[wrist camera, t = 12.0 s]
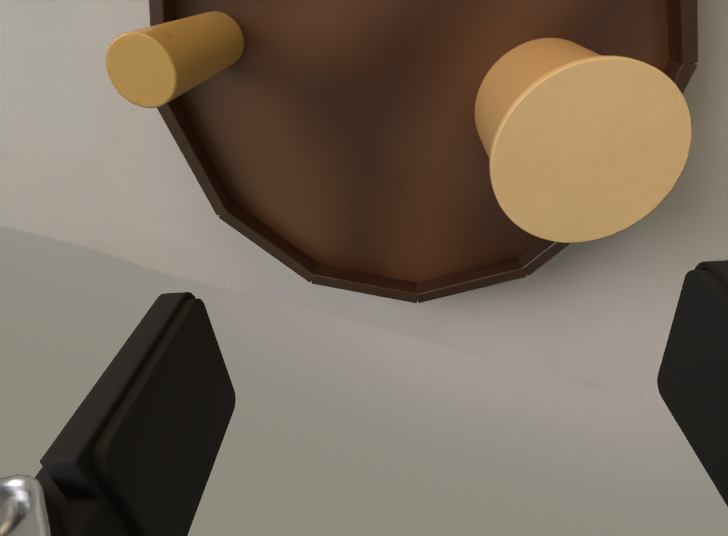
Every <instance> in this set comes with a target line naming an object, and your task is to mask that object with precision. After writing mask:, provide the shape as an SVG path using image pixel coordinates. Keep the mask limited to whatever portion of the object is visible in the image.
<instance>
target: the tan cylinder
mask: <svg viewBox="0 0 728 536" xmlns="http://www.w3.org/2000/svg"><path fill="white" fill-rule="evenodd" d="M475 123H476V128H477V131H478V134H479V137H480V139H481V141H482V144H483V146H484V148H485V150H486V153H487V155H488V157H489V160H490V161H489V169H490V179H491V184H492V187H493V191H494V194H495V196H496V198H497V200H498V203H499V205H500V207H501V208H502V209H503V211H504V212H505V214H506V215H507V216H508V217H509V218H510V219H511V220H512V221H513V222H514V223H515V224H516V225H517V226H519V227H520V228H521V229H523V230H525V231H526V232H528V233H530V234H532V235H534V236H537V237H539V238H542V239H546V240H550V241H556V242H563V243H577V242H587V241H592V240H597V239H601V238H604V237H607V236H610V235H613V234H615V233H618V232H620V231H622V230H624V229H626V228H628V227H630V226H631V225H633V224H635V223H636V222H638V221H639V220H641V219H642V218H644V217H645V216H646V215H647V214H649V213H650V212H651V211H652V210H653V209H655V208H656V207H657V206H658V205H659V204H660V203H661V202H662V200H663V199H664V198H665V197H666V196H667V195H668V193H669V192H670V191H671V190H672V188H673V186H674V185H675V183H676V182H677V180H678V179H679V177H680V175H681V173H682V171H683V169H684V166H685V164H686V161H687V158H688V155H689V150H690V145H691V136H692V126H691V116H690V112H689V109H688V105H687V103H686V101H685V98H684V96H683V94H682V93H681V91H680V90H679V88H678V87H677V85H676V84H675V83H674V82H673V81H672V80H671V79H670V78H669V77H668V76H667V75H665V74H664V73H663V72H661V71H660V70H658V69H657V68H655V67H653V66H651V65H649V64H646V63H644V62H642V61H639V60H635V59H632V58H629V57H622V56H601V55H599V54H597V53H595V52H593V51H591V50H589V49H587V48H584V47H582V46H580V45H578V44H576V43H574V42H572V41H568V40H565V39H559V38H542V39H536V40H532V41H529V42H526V43H524V44H521V45H519V46H517V47H515V48H514V49H512V50H510V51H509V52H507V53H506V54H505V55H503V56H502V57H501V58H500V59H499V60H498V61H497V62H496V63H495V64H494V65H493V66H492V68H491V69H490V70H489V72H488V73H487V75H486V76H485V78H484V80H483V82H482V84H481V86H480V88H479V91H478V94H477V98H476V102H475Z"/></svg>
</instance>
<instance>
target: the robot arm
mask: <svg viewBox="0 0 728 536" xmlns="http://www.w3.org/2000/svg"><path fill="white" fill-rule="evenodd" d="M657 384H658V389H659V392H660V395H661V397H662V399H663V400H664V402H665V403H666V405H667V407H668V408H669V410H670V412H671V413H672V415H673V417H674V418H675V420H676V422H677V423H678V425H679V426H680V428H681V430H682V432H683V433H684V435H685V437H686V438H687V440H688V441H689V443H690V445H691V447H692V448H693V450H694V451H695V453H696V455H697V456H698V458H699V460H700V461H701V463H702V465H703V466H704V468H705V470H706V471H707V473H708V475H709V476H710V478H711V480H712V481H713V483H714V484H715V486H716V488H717V490H718V491H719V493H720V494H721V496H722V498H723V499H724V501H725V503H726V504H727V506H728V260H725V261H708V262H701V263H699V264H698V265H697V266H696V268H695V270H691V271H689V272H688V273H687V274H686V276H685V279H684V283H683V286H682V290H681V294H680V297H679V301H678V305H677V308H676V312H675V315H674V319H673V323H672V326H671V330H670V334H669V337H668V341H667V345H666V348H665V352H664V355H663V359H662V363H661V366H660V370H659V374H658V379H657ZM234 407H235V392H234V389H233V386H232V383H231V380H230V377H229V374H228V371H227V368H226V366H225V363H224V360H223V357H222V354H221V351H220V349H219V345H218V342H217V340H216V337H215V334H214V331H213V328H212V325H211V323H210V319H209V317H208V314H207V311H206V308H205V305H204V303H203V302H202V300H201V299H196V298H195V296H194V295H193V294H192V293H189V292H185V293H167V294H161V295H160V296H159V297H158V298H157V300H156V301H155V302H154V304H153V305H152V306H151V308H150V309H149V311H148V312H147V313H146V315H145V316H144V318H143V319H142V320H141V322H140V323H139V324H138V326H137V327H136V329H135V330H134V331H133V333H132V334H131V336H130V337H129V338H128V340H127V341H126V343H125V344H124V345H123V347H122V348H121V349H120V351H119V352H118V354H117V355H116V356H115V358H114V359H113V361H112V362H111V363H110V365H109V366H108V367H107V369H106V370H105V372H104V373H103V374H102V376H101V377H100V379H99V380H98V381H97V383H96V384H95V386H94V387H93V388H92V390H91V391H90V392H89V394H88V395H87V397H86V398H85V399H84V401H83V402H82V403H81V405H80V406H79V408H78V409H77V410H76V412H75V413H74V415H73V416H72V417H71V419H70V420H69V421H68V423H67V424H66V426H65V427H64V428H63V430H62V431H61V433H60V434H59V435H58V437H57V438H56V440H55V441H54V442H53V444H52V445H51V447H50V448H49V449H48V451H47V452H46V453H45V455H44V456H43V458H42V459H41V460H40V463H41V464H42V466H43V467H42V469H41V470H40V471H39V473H38V474H37V476H36V477H35V478H33V477H31V476H29V475H13V476H8V477H3V478H0V536H187V535H188V532H189V529H190V527H191V524H192V521H193V519H194V516H195V513H196V511H197V508H198V505H199V502H200V500H201V497H202V494H203V492H204V489H205V486H206V483H207V481H208V478H209V476H210V473H211V470H212V467H213V465H214V462H215V459H216V456H217V454H218V451H219V448H220V446H221V443H222V440H223V438H224V435H225V432H226V430H227V427H228V424H229V421H230V419H231V416H232V413H233V411H234Z"/></svg>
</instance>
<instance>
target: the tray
mask: <svg viewBox="0 0 728 536" xmlns="http://www.w3.org/2000/svg"><path fill="white" fill-rule="evenodd" d="M149 8H150V27H147V28H143V29H139V30H135V31H131V32H127V33H124V34H121V35H119V36H117V37H116V38H115V39H114V40H113V41H112V42H111V44H110V45H109V48H108V50H107V54H106V68H107V72H108V76H109V78H110V80H111V82H112V84H113V86H114V87H115V89H116V90H117V91H118V92H119V93H120V94H121V95H122V96H123V97H124V98H125V99H127V100H128V101H130V102H131V103H133V104H135V105H138V106H141V107H144V108H157V109H158V110H159V112H160V114H161V116H162V118H163V119H164V121H165V123H166V125H167V127H168V128H169V130H170V132H171V134H172V136H173V137H174V139H175V141H176V143H177V145H178V146H179V148H180V150H181V152H182V154H183V155H184V157H185V159H186V161H187V162H188V164H189V166H190V168H191V170H192V171H193V173H194V175H195V177H196V179H197V180H198V182H199V184H200V186H201V188H202V189H203V191H204V193H205V195H206V197H207V198H208V200H209V202H210V204H211V206H212V207H213V209H214V211H215V213H216V214H217V215H220V216H219V218H220V219H222V220H223V221H224V222H226V223H227V224H229V225H230V226H231V227H233V228H234V229H236V230H237V231H238V232H240V233H241V234H243V235H244V236H245V237H247V238H248V239H250V240H251V241H252V242H254V243H255V244H257V245H258V246H259V247H261V248H262V249H264V250H265V251H266V252H268V253H269V254H271V255H272V256H273V257H275V258H276V259H278V260H279V261H280V262H282V263H283V264H285V265H286V266H287V267H289V268H290V269H292V270H293V271H294V272H296V273H297V274H299V275H300V276H301V277H303V278H304V279H306V280H307V281H308V282H311V281H312V283H313V284H318V285H323V286H328V287H334V288H339V289H344V290H350V291H355V292H360V293H366V294H371V295H376V296H381V297H387V298H392V299H397V300H403V301H408V302H413V303H417V300H418V302H419V303H421V302H425V301H429V300H433V299H437V298H441V297H445V296H449V295H453V294H457V293H462V292H466V291H470V290H474V289H478V288H482V287H486V286H490V285H494V284H498V283H503V282H507V281H511V280H515V279H519V278H523V277H526V276H527V275H530V274H532V273H533V272H534V271H535V270H537V269H538V268H539V267H541V266H542V265H543V264H544V263H546V262H547V261H548V260H550V259H551V258H552V257H553V256H555V255H556V254H557V253H559V252H560V251H561V250H562V249H564V248H565V247H566V246H568V245H569V244H570V243H563V242H556V241H550V240H546V239H542V238H539V237H537V236H534V235H532V234H530V233H528V232H526V231H525V230H523V229H521V228H520V227H519V226H517V225H516V224H515V223H514V222H513V221H512V220H511V219H510V218H509V217H508V216H507V215H506V214H505V212H504V211H503V209H502V208H501V207H500V205H499V203H498V200H497V198H496V196H495V194H494V191H493V187H492V184H491V179H490V169H489V161H490V160H489V157H488V155H487V153H486V150H485V148H484V146H483V144H482V141H481V139H480V137H479V134H478V131H477V128H476V123H475V102H476V98H477V94H478V91H479V88H480V86H481V84H482V82H483V80H484V78H485V76H486V75H487V73H488V72H489V70H490V69H491V68H492V66H493V65H494V64H495V63H496V62H497V61H498V60H499V59H500V58H501V57H502V56H503V55H505V54H506V53H507V52H509V51H510V50H512V49H514V48H515V47H517V46H519V45H521V44H524V43H526V42H529V41H532V40H536V39H542V38H559V39H565V40H568V41H572V42H574V43H576V44H578V45H580V46H582V47H584V48H587V49H589V50H591V51H593V52H595V53H597V54H599V55H601V56H622V57H629V58H632V59H635V60H639V61H642V62H644V63H646V64H649V65H651V66H653V67H655V68H657V69H658V70H660V71H661V72H663V73H664V74H665V75H667V76H668V77H669V78H670V79H671V80H672V81H673V82H674V83H675V84H676V85H677V87H678V88H679V90H680V91H681V93H682V94H683V92H684V90H685V88H686V86H687V84H688V82H689V80H690V78H691V76H692V74H693V73H694V71H695V69H696V67H697V65H696V64H694V63H696V62H698V28H697V0H149Z"/></svg>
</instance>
